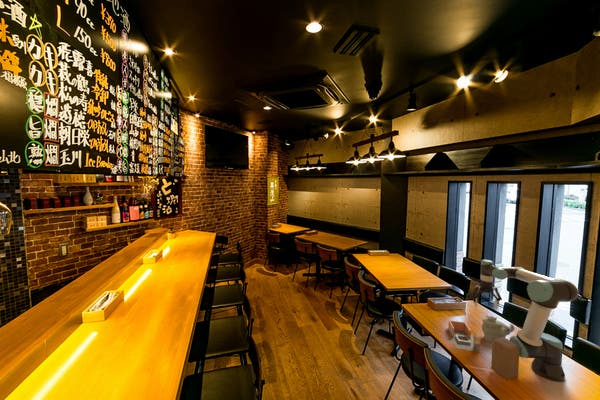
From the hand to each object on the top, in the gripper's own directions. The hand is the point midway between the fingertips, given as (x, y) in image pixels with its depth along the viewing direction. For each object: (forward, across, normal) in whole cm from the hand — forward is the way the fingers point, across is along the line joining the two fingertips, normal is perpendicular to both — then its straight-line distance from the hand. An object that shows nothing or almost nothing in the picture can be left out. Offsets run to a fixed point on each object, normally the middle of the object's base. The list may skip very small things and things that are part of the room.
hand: (485, 307), depth 195 cm
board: (+23, +18, +9) cm, 31 cm away
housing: (+22, +19, +3) cm, 29 cm away
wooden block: (+24, +6, +40) cm, 47 cm away
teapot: (+24, -6, +5) cm, 25 cm away
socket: (+23, +19, +11) cm, 32 cm away
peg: (+22, +13, +20) cm, 33 cm away
